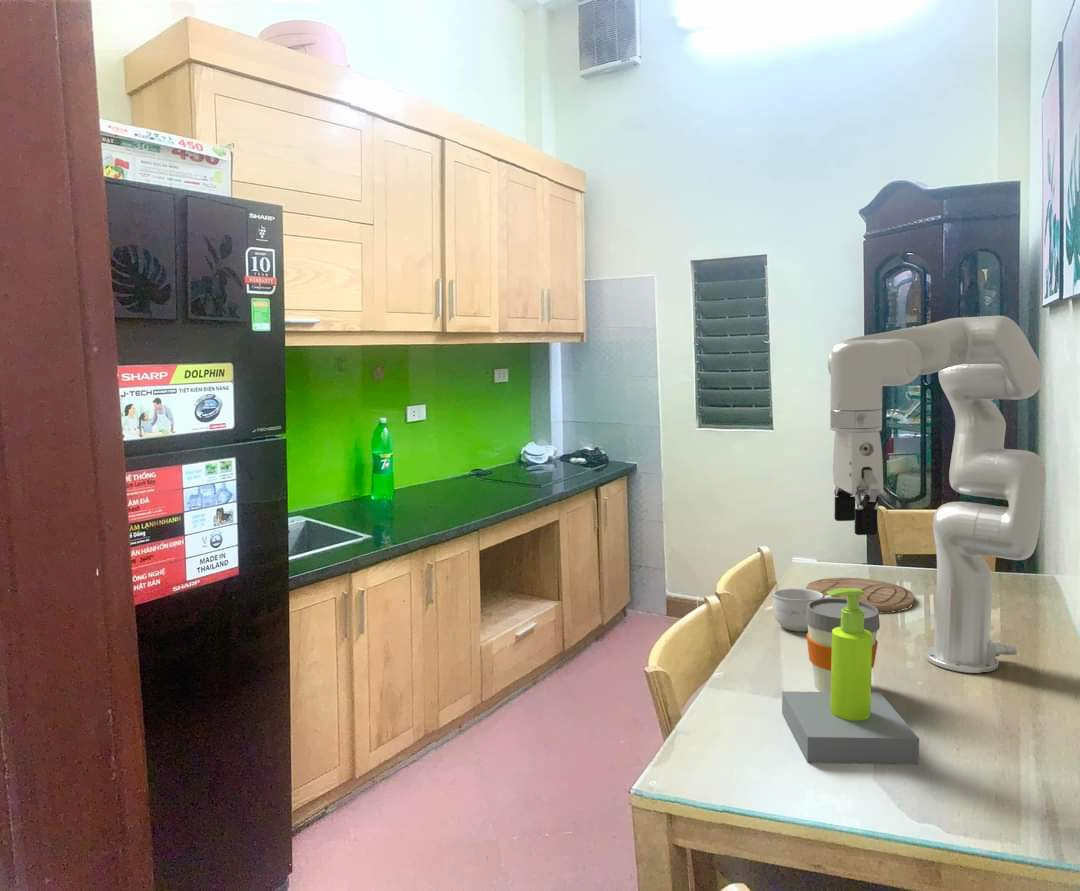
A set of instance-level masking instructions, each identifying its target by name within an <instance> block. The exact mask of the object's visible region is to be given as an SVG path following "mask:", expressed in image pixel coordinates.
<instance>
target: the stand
mask: <svg viewBox="0 0 1080 891" xmlns="http://www.w3.org/2000/svg"><path fill="white" fill-rule="evenodd" d="M781 693H782V694H781V695H782V696H781V697H782V698H781V704H782V705H781V715H782V714H783V715H782V716H784V717H783V719H784V718H785V719H784V721H785V720H786V721H785V722H787V723H786V725H787V726H788V728H789V730H790V732H791V734H792V736H793V738H794V739H795V742H796V744H797V745H798V748H799V749H800V751H801V753H802V755H803V757H804V759H805V760H806V763H813V764H816V763H817V764H870V765H871V764H874V765H877V764H878V765H881V764H883V765H919V755H920V754H919V753H920V752H919V750H920V749H919V748H920V738H919V737H918V735H917V734H916V733H915V732H914V731H913V730H912V729H911V727H910V726H909V725H908V724H907V723H906V722H905V720H904V719H903V717H901V716H900V715H899V713H898V712H897V711H896V710H895V709H894V708H893V706H892V705H891V703H889V702H888V700H887V699H886V698H885V696H883V695H882V693H881V692H873V691H871V707H870V717H869V718H868V719H866V720H863V721H851V720H845V719H842V718H839V717H837V716H835V715H834V714H832V713H831V711H830V702H831V692H820V691H782V692H781Z"/></svg>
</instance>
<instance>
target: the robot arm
mask: <svg viewBox="0 0 1080 891" xmlns="http://www.w3.org/2000/svg"><path fill="white" fill-rule="evenodd" d="M827 370H828V373H829V375H830V416H829V417H830V422H829V423H830V428H829V430H830V431H832V432H834V440H833V441H834V443H833V460H832V461H833V462H832V467H833V468H832V472H833V473H832V477H833V482H834V485H835V488H834V490H833V491H834V520H835V521H837V522H850V521H852V522H854V534H855V535H857V536H872V535H873V536H874V535H877V534H878V509H879V503H878V502H879V500H880V497H879V495H881V494H882V493H883V492H884V466H883V464H884V463H883V448H882V440H881V434H880V432H881V431H882V430H883V387H900V386H905V385H907V384H910V383H912V382H913V381H914V380H916V379H917V377H919V376H925V375H930V374H934V373H937V372H938V375H937V376H938V381H939V384H940V387H941V390H942V391H943V392H944V394H945V397H946V398H947V399H948V403H949V404H950V406H951V409H952V412H953V415H954V420H955V423H954V424H955V427H954V428H955V429H954V437H953V443H952V449H951V450H952V451H951V458H950V464H949V473H948V475H949V476H948V480H949V485H950V487H951V489H952V490H953V491H955V492H956V493H959V494H962V495H967V496H972V497H973V496H974V497H979V498H980V497H981V498H988V499H989V498H990V499H998V500H1006V501H1007V503H1008V506H1002V505H1001V506H999V505H992V504H988V503H987V504H986V503H978V502H977V503H976V502H969V501H950V502H947V503H943V504H941V505H940V506H939V507H938V508H937V509H936V510H935V512H934V514H933V518H932V531H933V532H932V533H933V537H934V542H935V543H934V544H935V545H934V546H935V550H936V589H935V615H934V616H935V617H934V642H933V643H934V645H931V646H929V647H927V648H926V649H925V653H924V654H925V655H924V656H925V658H926V660H928V661H929V662H930V663H932V664H933V665H934V666H937V667H940V668H943V669H946V670H950V671H954V672H960V673H965V674H966V673H968V674H982V673H981V672H987V673H991V672H993V670H994V671H996V670H997V669H998V668H999V660H998V657H1000V656H1001V655H1004V656H1016V655H1017V653H1018V651H1017V647H1016V645H1014V644H1003V642H1002V641H992V640H991V623H992V622H991V621H992V600H993V599H992V597H993V574H992V571H991V569H990V567H989V565H988V563H987V561H986V560H985V558H984V557H983V556H987V557H993V558H999V559H1004V560H1005V559H1006V560H1012V561H1023V560H1024V561H1025V560H1027V559H1028V558H1030V557H1031V556H1032V555H1033V554H1034V552H1035V551H1036V548H1037V544H1038V539H1039V533H1040V528H1041V527H1040V526H1041V521H1042V512H1043V504H1044V498H1045V491H1046V481H1047V479H1046V478H1047V477H1046V476H1047V474H1046V467H1045V464H1044V462H1043V459H1042V458H1041V457H1040V456H1039V455H1038V454H1036V452H1034V451H1033V452H1032V451H1029V450H1024V449H1011V448H1010V449H1009V448H1005V446H1004V445H1005V438H1006V437H1005V436H1006V429H1007V424H1006V420H1005V418H1004V415H1003V414H1002V412H1001V411H1000V409H999V407H997V405H996V404H995V403H994V402H993V401H992V400H1016V401H1017V400H1024V399H1028V398H1030V397H1032V396H1034V395H1035V394H1036V393H1037V392H1038V391H1039V389H1040V387H1041V384H1042V378H1043V376H1042V375H1043V373H1042V372H1043V370H1042V366H1041V364H1040V360H1039V358H1038V357H1037V355H1036V353H1035V351H1034V349H1033V347H1032V345H1031V344H1030V342H1029V340H1028V339H1027V337H1026V335H1025V333H1024V332H1023V330H1022V329H1021V327H1020V326H1019V325H1018V324H1017V323H1016V322H1015V321H1014V320H1013V319H1011V318H1009V317H1008V316H1006V315H983V316H970V317H969V316H966V317H965V316H963V317H953V318H951V317H950V318H947V319H943V320H939V321H936V322H931V323H927V324H923V325H922V324H921V325H918V326H912V327H905V328H899V329H896V330H891V331H884V332H879V333H872V334H868V335H861V336H856V337H852V338H848V339H843V340H841V341H839V342H838V343H836V344H835V345H834V346H833V347H832V349H831V351H830V353H829V355H828V359H827ZM862 497H863V498H862ZM856 507H857V508H856ZM995 669H996V670H995ZM990 671H991V672H990Z"/></svg>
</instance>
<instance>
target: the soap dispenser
mask: <svg viewBox="0 0 1080 891" xmlns="http://www.w3.org/2000/svg"><path fill="white" fill-rule="evenodd" d="M826 593H827V594H829V595H830V596H832V597H834V598H835V597H838V596H845V595H847V607H845V608H843V609H841V627H836V628H834V629H833V630H832V658H831V702H830V711H831V713H832V714H834V715H835V716H837V717H839V718H842V719H845V720H851V721H863V720H866V719H868V718H869V717H870V707H871V692H872V672H873V668H872V636H873V635H872V633H871V632H869V631H868V630H865V629H864V611H863V610H861V609H860V608H859V595H865V592H864V591H862V590H860V589H858V588H839V589H834V590H830V591H827V592H826Z"/></svg>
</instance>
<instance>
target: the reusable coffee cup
mask: <svg viewBox="0 0 1080 891" xmlns="http://www.w3.org/2000/svg"><path fill="white" fill-rule="evenodd" d="M845 607H847V599H842V598H823V599H817V600H813V601H810V602H809V603H808V604H807V610H806V618H805V621H806V623H807V624H808V631H807V633H806V642H807V651H808V652H807V653H808V657H809V658H808V660H809V662H810V663H811V667H812V673H813V681H814V682H813V683H814V688H815V689H816V688H817V689H818V690H819V691H818V690H817V689H816V690H817V691H818V692H831V658H832V630H833V629H834V628H836V627H841V609H843V608H845ZM859 608H860V609H861V610H863V611H864V629H865V630H868V631H869V632H871V633H872V635H873V636H872V669H874V666H875V662H876V656H877V649H878V644H879V642H878V640H877V633H878V630H880V628H881V626H880V615H879V614H880V613H878V609H877V608H875V607H874V606H872V605H870V604H867V603H864V602H861V601H859Z"/></svg>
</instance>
